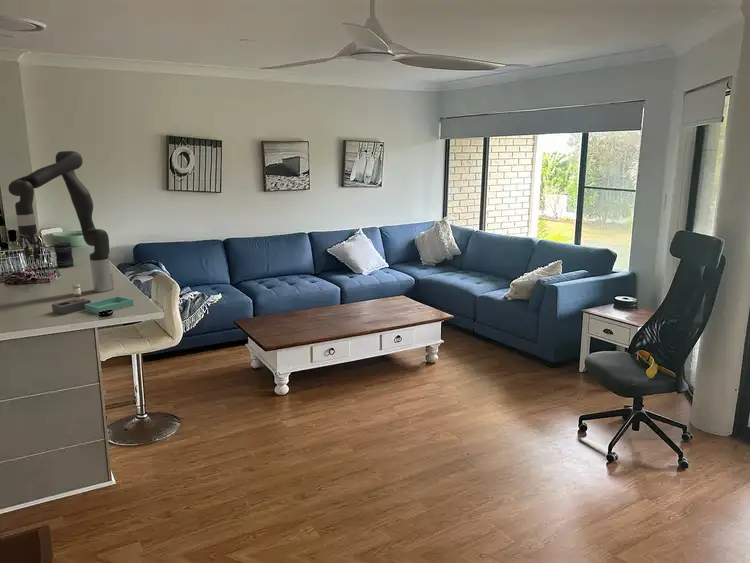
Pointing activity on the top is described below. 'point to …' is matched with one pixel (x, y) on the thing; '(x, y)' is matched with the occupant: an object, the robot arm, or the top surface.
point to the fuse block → (69, 306)
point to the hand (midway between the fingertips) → (32, 257)
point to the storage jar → (64, 255)
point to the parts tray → (108, 304)
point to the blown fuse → (77, 293)
